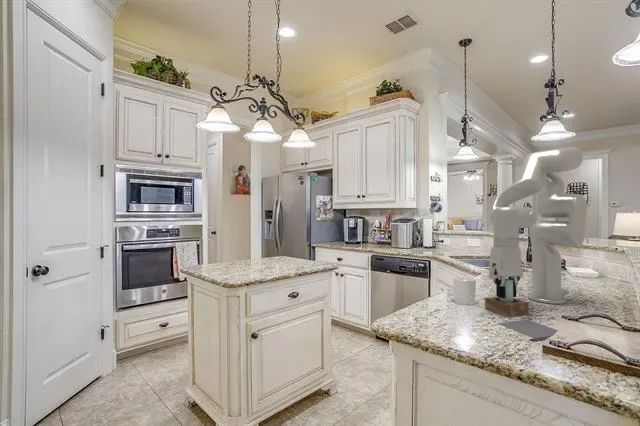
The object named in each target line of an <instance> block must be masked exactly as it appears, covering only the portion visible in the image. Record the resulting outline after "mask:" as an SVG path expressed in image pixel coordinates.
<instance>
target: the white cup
mask: <svg viewBox="0 0 640 426" xmlns="http://www.w3.org/2000/svg"><path fill="white" fill-rule="evenodd" d="M452 280H453V281H452V282H453V297H454V302H455V303H456V304H459V305H466V306H467V305H470V306H471V305H474V304H475V302H476V300H475V299H476V290H477V289H476V285H477V279H476V278H475V277H471V276H453V278H452Z"/></svg>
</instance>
